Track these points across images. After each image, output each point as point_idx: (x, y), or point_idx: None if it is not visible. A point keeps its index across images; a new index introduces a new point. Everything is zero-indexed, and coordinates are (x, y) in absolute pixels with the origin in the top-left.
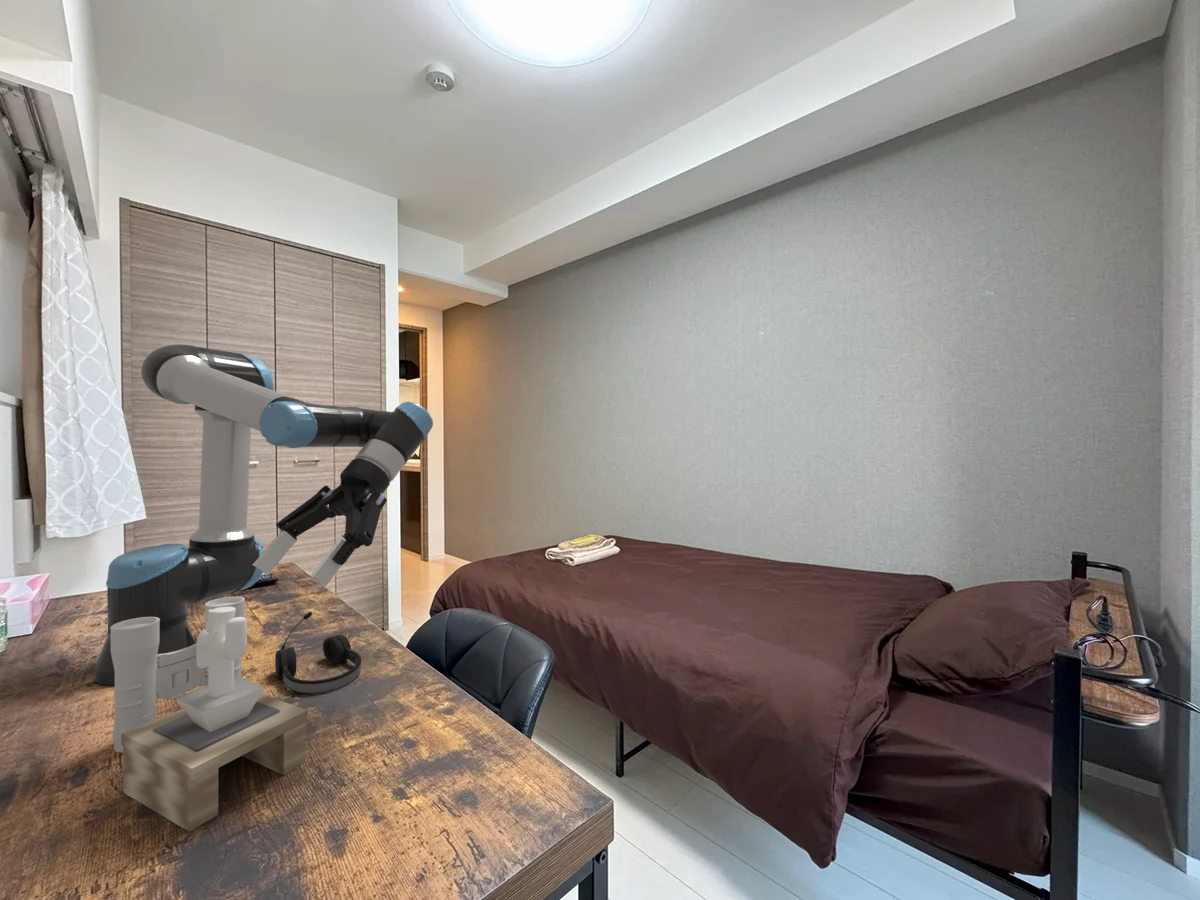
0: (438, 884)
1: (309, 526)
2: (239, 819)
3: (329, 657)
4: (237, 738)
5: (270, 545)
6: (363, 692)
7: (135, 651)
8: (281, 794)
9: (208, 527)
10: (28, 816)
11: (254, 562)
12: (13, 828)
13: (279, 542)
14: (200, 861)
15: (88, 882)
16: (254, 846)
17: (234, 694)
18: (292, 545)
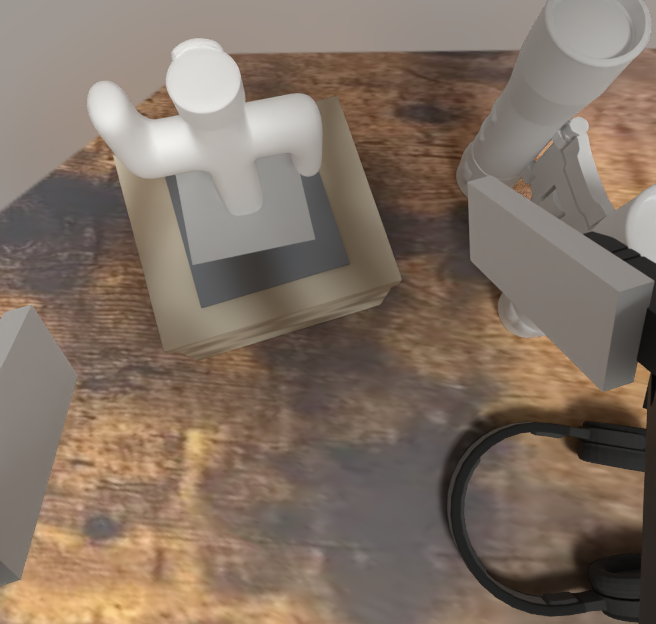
0: None
1: (647, 489)
2: (128, 249)
3: (629, 559)
4: (157, 226)
5: (552, 225)
6: (383, 550)
7: (519, 58)
8: (138, 307)
9: None
10: (358, 66)
11: (496, 179)
12: (340, 55)
13: (557, 270)
14: (81, 198)
15: (149, 108)
16: (52, 250)
17: (207, 211)
18: (576, 365)
